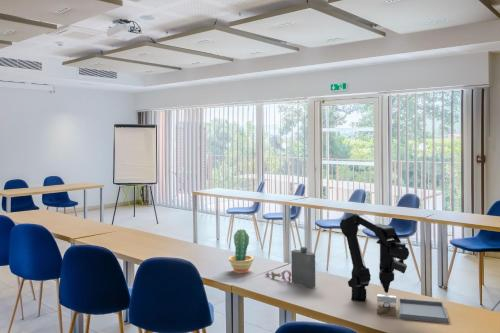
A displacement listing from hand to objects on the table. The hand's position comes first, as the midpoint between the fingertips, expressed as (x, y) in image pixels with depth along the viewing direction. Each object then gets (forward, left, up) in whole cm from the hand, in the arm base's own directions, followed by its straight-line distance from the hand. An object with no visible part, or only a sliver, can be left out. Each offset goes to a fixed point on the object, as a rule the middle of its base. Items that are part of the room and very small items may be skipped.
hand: (386, 289), depth 194 cm
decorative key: (-58, +33, -10) cm, 68 cm away
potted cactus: (-83, +43, -10) cm, 94 cm away
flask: (-42, +28, -10) cm, 52 cm away
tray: (+15, +3, -10) cm, 18 cm away
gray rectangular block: (0, 0, -10) cm, 10 cm away
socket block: (0, 0, -10) cm, 10 cm away
